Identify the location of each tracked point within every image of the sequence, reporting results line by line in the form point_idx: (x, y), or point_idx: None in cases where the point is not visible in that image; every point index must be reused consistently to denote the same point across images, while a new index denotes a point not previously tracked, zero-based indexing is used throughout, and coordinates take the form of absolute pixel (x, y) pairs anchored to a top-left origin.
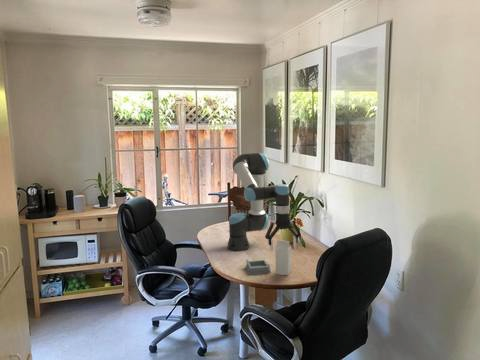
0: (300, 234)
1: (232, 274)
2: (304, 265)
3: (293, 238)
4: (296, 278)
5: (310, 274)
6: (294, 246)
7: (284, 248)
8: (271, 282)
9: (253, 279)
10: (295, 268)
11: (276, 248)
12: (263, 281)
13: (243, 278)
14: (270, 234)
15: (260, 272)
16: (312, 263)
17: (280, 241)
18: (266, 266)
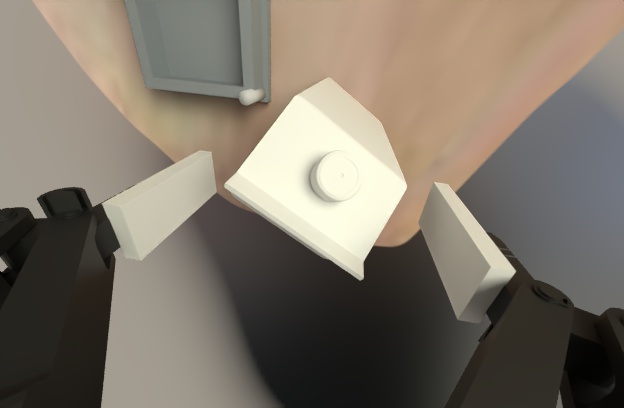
0: (596, 384)
1: (77, 48)
2: (515, 65)
3: (474, 247)
4: None
5: None
6: (429, 218)
7: (303, 242)
8: None
9: (182, 147)
10: (426, 94)
11: (240, 200)
12: (221, 181)
13: (138, 120)
14: (33, 258)
15: (214, 95)
16: (600, 47)
17: (272, 208)
18: (236, 93)
